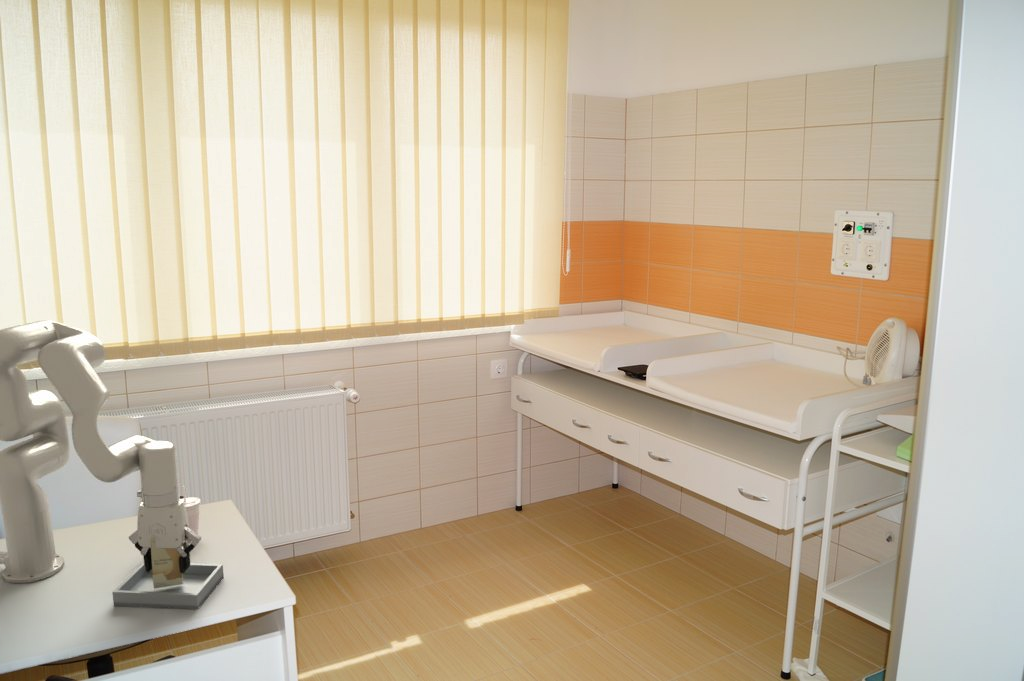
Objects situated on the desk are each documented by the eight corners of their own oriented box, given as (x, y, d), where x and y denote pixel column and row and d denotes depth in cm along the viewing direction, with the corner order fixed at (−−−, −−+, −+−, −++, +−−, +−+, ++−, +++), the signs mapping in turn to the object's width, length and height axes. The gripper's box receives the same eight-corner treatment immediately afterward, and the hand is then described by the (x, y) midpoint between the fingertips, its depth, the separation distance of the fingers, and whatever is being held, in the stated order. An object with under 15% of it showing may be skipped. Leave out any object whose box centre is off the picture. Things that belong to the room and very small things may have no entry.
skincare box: (153, 589, 175) (148, 539, 172) (153, 580, 179) (148, 531, 176) (184, 584, 177) (180, 534, 175) (184, 575, 181) (179, 526, 178)
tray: (113, 606, 172) (112, 592, 172) (145, 575, 186) (144, 561, 185) (198, 609, 171) (196, 595, 171) (223, 577, 185) (222, 564, 184)
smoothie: (181, 531, 208) (177, 481, 205) (206, 530, 209) (202, 481, 206) (174, 542, 202) (169, 491, 199) (199, 541, 202) (195, 490, 199)
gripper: (113, 502, 170) (121, 576, 174) (191, 505, 169) (197, 579, 173) (132, 488, 178) (139, 559, 181) (206, 491, 177) (212, 562, 181)
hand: (167, 569), depth 177 cm, fingers closed on skincare box, 7 cm apart
